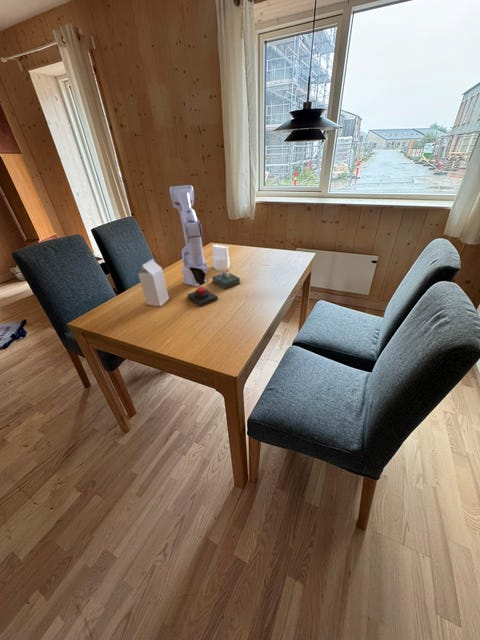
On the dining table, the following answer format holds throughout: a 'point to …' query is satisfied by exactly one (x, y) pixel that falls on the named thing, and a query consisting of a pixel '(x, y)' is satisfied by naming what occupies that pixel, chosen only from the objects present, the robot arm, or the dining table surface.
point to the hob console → (226, 280)
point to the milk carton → (153, 284)
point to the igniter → (202, 297)
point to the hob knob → (225, 273)
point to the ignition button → (201, 290)
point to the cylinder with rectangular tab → (220, 257)
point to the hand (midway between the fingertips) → (200, 283)
